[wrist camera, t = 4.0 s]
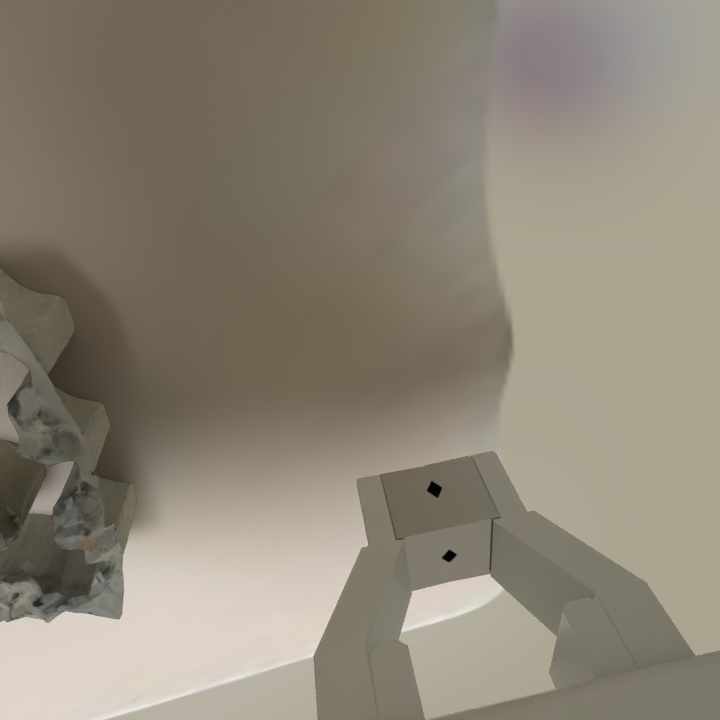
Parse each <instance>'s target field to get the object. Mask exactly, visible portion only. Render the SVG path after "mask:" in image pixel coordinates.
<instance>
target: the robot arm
mask: <svg viewBox="0 0 720 720" xmlns="http://www.w3.org/2000/svg"><path fill="white" fill-rule="evenodd" d="M357 488H358V493H359V498H360V503H361V509H362V514H363V519H364V524H365V530H366V535H367V540H368V545H369V546H367V547H363V548H362V549H361V551H360V553H359V555H358V558H357V560H356V562H355V564H354V567H353V569H352V571H351V573H350V576H349V578H348V580H347V582H346V585H345V587H344V589H343V591H342V594H341V596H340V598H339V600H338V603H337V605H336V607H335V609H334V611H333V614H332V616H331V618H330V620H329V623H328V625H327V627H326V629H325V632H324V634H323V636H322V638H321V641H320V643H319V645H318V647H317V650H316V652H315V654H314V656H313V657H314V671H315V686H316V701H317V717H318V720H720V650H719V651H715V652H711V653H707V654H702V655H698V656H695V654H694V653H693V651H692V650H691V648H690V647H689V645H688V644H687V643H686V641H685V640H684V638H683V637H682V635H681V634H680V632H679V631H678V629H677V628H676V626H675V625H674V623H673V622H672V620H671V619H670V617H669V616H668V614H667V613H666V611H665V610H664V608H663V607H662V605H661V604H660V602H659V601H658V599H657V598H656V596H655V595H654V593H653V592H652V590H651V589H650V587H649V586H648V584H647V583H646V582H645V581H643V580H642V579H640V578H639V577H637V576H635V575H634V574H632V573H631V572H629V571H628V570H626V569H624V568H623V567H621V566H620V565H618V564H617V563H615V562H614V561H612V560H610V559H609V558H607V557H606V556H604V555H602V554H601V553H599V552H598V551H596V550H595V549H593V548H592V547H590V546H588V545H587V544H585V543H584V542H582V541H581V540H579V539H577V538H576V537H574V536H573V535H571V534H570V533H568V532H566V531H565V530H563V529H562V528H560V527H559V526H557V525H556V524H554V523H552V522H551V521H549V520H548V519H546V518H545V517H543V516H542V515H540V514H538V513H537V512H535V511H530V512H527V511H526V509H525V507H524V505H523V503H522V501H521V500H520V498H519V496H518V494H517V492H516V490H515V488H514V486H513V484H512V483H511V481H510V479H509V477H508V475H507V473H506V471H505V469H504V468H503V466H502V464H501V462H500V460H499V458H498V456H497V454H496V453H494V452H493V451H491V452H486V453H481V454H476V455H472V456H465V457H461V458H456V459H452V460H447V461H443V462H438V463H434V464H429V465H425V466H423V467H418V468H412V469H407V470H401V471H396V472H390V473H385V474H380V475H375V476H370V477H365V478H359V479H357ZM486 574H491V577H492V578H493V579H495V580H496V581H497V582H498V583H499V584H500V585H501V586H502V587H503V588H504V589H505V590H507V591H508V592H509V593H510V594H511V595H512V596H513V597H514V598H515V599H516V600H517V601H519V602H520V603H521V604H522V605H523V606H524V607H525V608H526V609H527V610H528V611H529V612H531V613H532V614H533V615H534V616H535V617H536V618H537V619H538V620H540V622H542V623H543V624H544V625H545V626H546V627H547V628H548V629H549V630H550V631H551V632H552V633H554V634H555V635H556V636H557V640H556V644H555V649H554V653H553V658H552V662H551V666H550V671H549V674H550V676H551V679H552V681H553V683H554V686H555V688H556V689H553V690H548V691H544V692H540V693H536V694H531V695H528V696H523V697H518V698H514V699H510V700H506V701H501V702H497V703H493V704H489V705H485V706H480V707H476V708H472V709H467V710H463V711H459V712H454V713H450V714H446V715H442V716H438V717H433V718H429V719H425V717H424V713H423V709H422V704H421V700H420V696H419V692H418V687H417V683H416V679H415V674H414V670H413V666H412V662H411V657H410V653H409V649H408V646H407V645H405V644H404V643H402V642H400V641H399V636H400V633H401V629H402V626H403V622H404V619H405V615H406V612H407V608H408V605H409V601H410V598H411V594H412V593H411V591H414V590H418V589H422V588H426V587H430V586H434V585H438V584H442V583H446V582H450V581H455V580H460V579H466V578H471V577H476V576H481V575H486Z"/></svg>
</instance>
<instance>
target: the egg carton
mask: <svg viewBox="0 0 720 720" xmlns="http://www.w3.org/2000/svg"><path fill="white" fill-rule="evenodd" d="M74 332H75V327H74V322H73V318H72V315H71V313H70V310H69V308H68V305H67V303H66V301H65V300H64V299H63V298H62V297H60V296H56V295H50V294H42V293H39V292H36V291H33V290H29V289H27V288H25V287H23V286H22V285H20V284H18V283H17V282H16V281H14V280H13V279H12V278H11V277H9V276H8V275H7V274H6V273H5V272H4V271H3V270H2V269H1V268H0V352H4V353H8V354H11V355H13V356H14V357H15V358H17V359H18V360H20V361H21V362H22V363H23V364H24V365H26V366H27V367H28V368H29V370H30V371H29V372H28V374H27V375H26V377H25V379H24V381H23V383H22V384H21V386H20V387H19V388H18V390H17V391H16V393H15V394H14V396H13V397H12V398H11V400H10V401H9V403H8V404H7V406H8V414H9V417H10V419H11V421H12V423H13V425H14V427H15V429H16V431H17V433H18V435H19V445H17V444H15V443H12V442H9V441H4V440H0V622H1V621H3V620H5V621H7V622H9V621H12V620H16V619H20V618H23V617H31V618H36V619H41V620H45V622H48V623H49V622H50V621H52V620H53V619H54V618H55V617H56V616H58V615H59V614H61V613H62V612H65V611H69V612H74V613H87V614H92V615H96V616H101V617H107V618H113V619H120V617H121V615H122V607H123V595H124V583H123V571H122V561H123V553H124V550H125V547H126V543H127V540H128V535H129V529H130V527H131V524H132V521H133V517H134V513H135V506H136V503H137V498H136V495H135V492H134V489H133V487H132V485H131V483H126V482H116V481H111V480H108V479H104V478H101V477H99V476H97V475H95V474H93V473H94V471H95V468H96V465H97V463H98V460H99V457H100V453H101V450H102V448H103V446H104V443H105V439H106V437H107V434H108V432H109V430H110V427H111V426H110V422H109V419H108V417H107V414H106V411H105V408H104V406H103V404H102V403H100V402H95V401H90V400H85V399H79V398H76V397H74V396H71V395H68V394H66V393H64V392H63V391H61V390H59V389H58V388H56V387H55V386H54V385H53V384H52V382H51V380H50V379H49V377H48V376H47V375H48V373H49V372H50V370H51V369H52V368H53V366H54V365H55V363H56V361H57V359H58V357H59V356H60V354H61V352H62V351H63V350H64V348H65V347H66V346H67V344H68V342H69V340H70V338H71V336H72V335H73V333H74ZM70 460H71V461H75V463H74V465H73V468H72V470H71V473H70V475H69V478H68V480H67V482H66V484H65V487H64V489H63V492H62V494H61V496H60V498H59V499H58V501H57V503H56V504H55V506H54V508H53V516H49V515H44V514H28V513H29V511H30V509H31V507H32V504H33V502H34V500H35V498H36V496H37V494H38V491H39V489H40V487H41V484H42V482H43V480H44V477H45V473H46V470H45V465H48V466H53V465H56V464H59V463H62V462H66V461H70ZM44 464H45V465H44Z"/></svg>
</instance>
